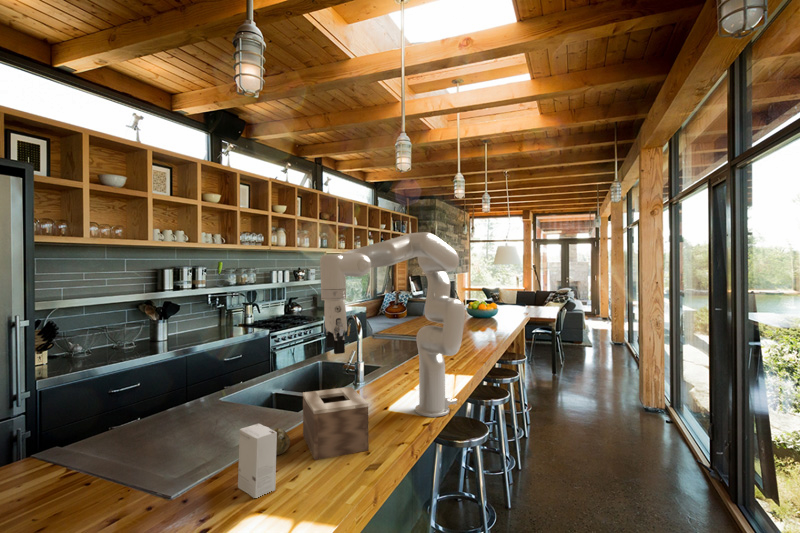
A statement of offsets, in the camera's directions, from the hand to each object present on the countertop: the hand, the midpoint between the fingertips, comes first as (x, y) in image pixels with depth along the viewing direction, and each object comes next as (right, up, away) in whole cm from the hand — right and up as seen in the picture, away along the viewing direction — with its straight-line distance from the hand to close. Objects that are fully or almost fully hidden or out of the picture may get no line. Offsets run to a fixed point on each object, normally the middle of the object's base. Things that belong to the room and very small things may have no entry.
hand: (335, 350), depth 134 cm
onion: (-16, -29, -6) cm, 34 cm away
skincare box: (-15, -29, -26) cm, 42 cm away
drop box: (0, -29, 0) cm, 29 cm away
